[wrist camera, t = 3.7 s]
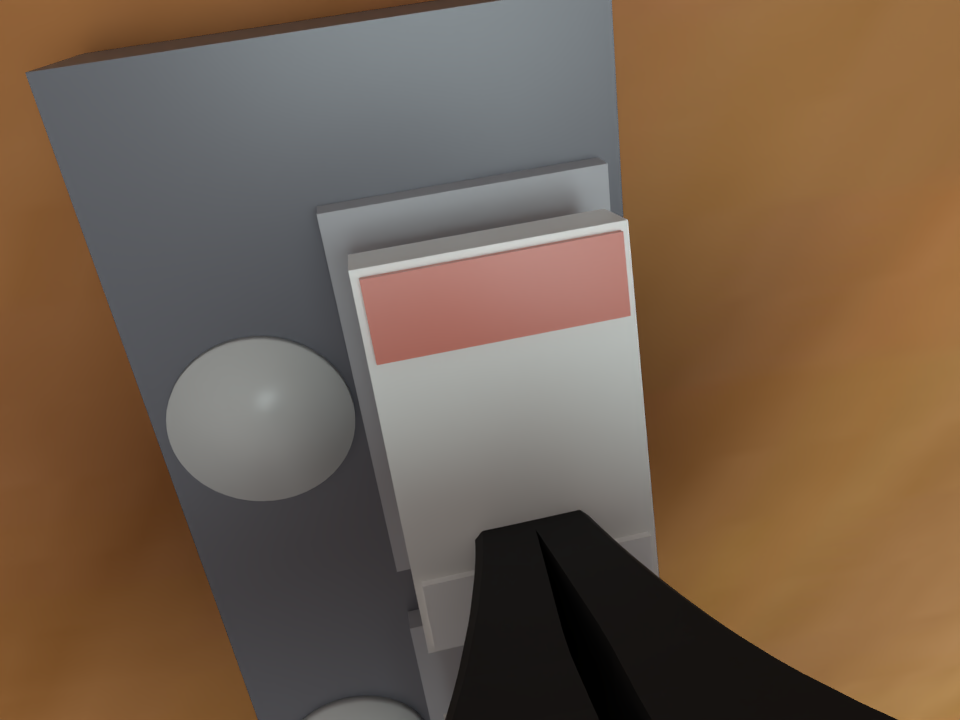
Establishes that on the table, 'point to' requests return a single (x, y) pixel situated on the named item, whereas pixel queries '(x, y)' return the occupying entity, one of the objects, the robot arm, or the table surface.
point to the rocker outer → (506, 392)
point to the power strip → (314, 287)
